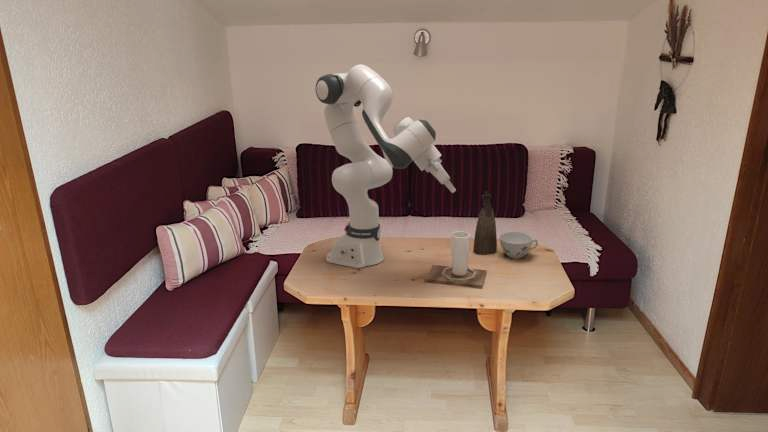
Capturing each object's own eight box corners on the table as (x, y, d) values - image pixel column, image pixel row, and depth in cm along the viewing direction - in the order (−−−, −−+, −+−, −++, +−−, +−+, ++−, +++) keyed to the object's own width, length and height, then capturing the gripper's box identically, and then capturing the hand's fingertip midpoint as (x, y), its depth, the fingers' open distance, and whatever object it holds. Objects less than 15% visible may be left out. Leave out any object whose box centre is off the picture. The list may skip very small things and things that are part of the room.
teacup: (503, 262, 207) (504, 243, 204) (495, 250, 219) (496, 231, 216) (542, 261, 207) (543, 241, 205) (532, 249, 219) (533, 230, 217)
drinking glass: (468, 277, 192) (470, 238, 187) (449, 276, 193) (450, 237, 188) (469, 270, 198) (470, 231, 193) (450, 269, 199) (451, 230, 194)
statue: (483, 246, 223) (487, 188, 214) (498, 251, 218) (504, 192, 209) (470, 252, 217) (474, 193, 208) (486, 258, 212) (491, 197, 203)
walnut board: (424, 282, 192) (424, 276, 191) (432, 267, 204) (432, 262, 203) (481, 288, 186) (482, 283, 186) (486, 273, 198) (486, 268, 197)
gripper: (436, 153, 177) (463, 187, 178) (435, 153, 197) (458, 183, 198) (421, 165, 178) (447, 198, 179) (421, 164, 198) (444, 194, 199)
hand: (453, 190), depth 189 cm, fingers open, 8 cm apart
